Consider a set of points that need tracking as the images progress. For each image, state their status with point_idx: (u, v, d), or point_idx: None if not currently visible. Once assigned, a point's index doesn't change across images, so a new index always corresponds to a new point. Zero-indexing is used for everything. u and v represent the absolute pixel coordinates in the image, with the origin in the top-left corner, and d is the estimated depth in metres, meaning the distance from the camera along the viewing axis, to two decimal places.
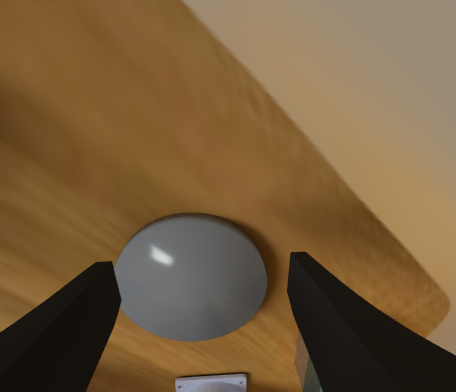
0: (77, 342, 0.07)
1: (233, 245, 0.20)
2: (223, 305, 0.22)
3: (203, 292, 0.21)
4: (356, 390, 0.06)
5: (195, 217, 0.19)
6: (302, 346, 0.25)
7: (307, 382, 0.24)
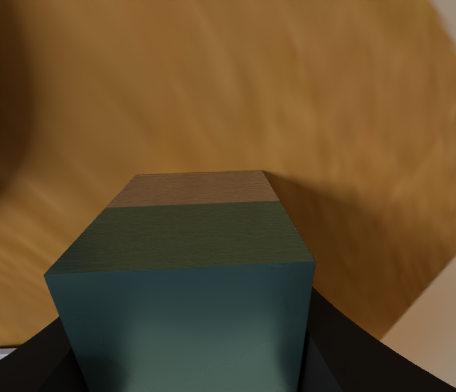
0: None
1: None
2: None
3: None
4: None
5: None
6: None
7: None
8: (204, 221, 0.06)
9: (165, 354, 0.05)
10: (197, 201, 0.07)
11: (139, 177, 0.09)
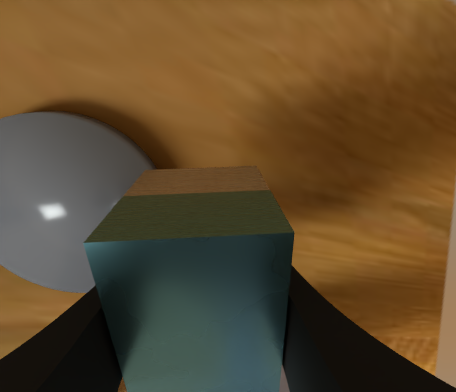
0: (111, 340, 0.07)
1: (44, 131, 0.14)
2: None
3: (81, 213, 0.16)
4: None
5: None
6: None
7: None
8: (206, 205, 0.08)
9: (176, 311, 0.07)
10: (200, 190, 0.09)
11: (148, 172, 0.11)
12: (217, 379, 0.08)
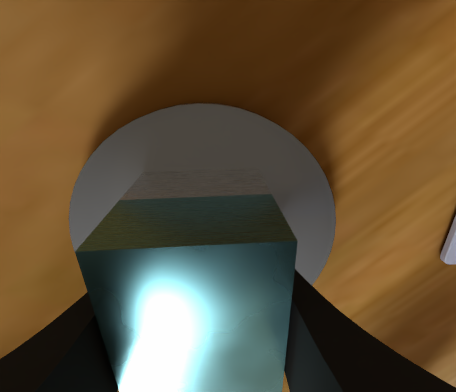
0: None
1: (106, 177, 0.11)
2: None
3: None
4: None
5: None
6: None
7: None
8: (205, 211, 0.07)
9: (173, 322, 0.07)
10: (199, 194, 0.08)
11: (146, 174, 0.10)
12: (216, 390, 0.08)
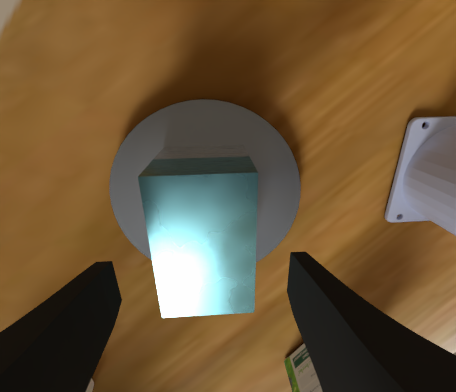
0: (77, 342, 0.07)
1: (137, 151, 0.16)
2: None
3: None
4: (356, 390, 0.06)
5: None
6: None
7: None
8: (207, 163, 0.12)
9: (189, 224, 0.11)
10: (203, 156, 0.13)
11: (166, 148, 0.15)
12: (214, 276, 0.12)
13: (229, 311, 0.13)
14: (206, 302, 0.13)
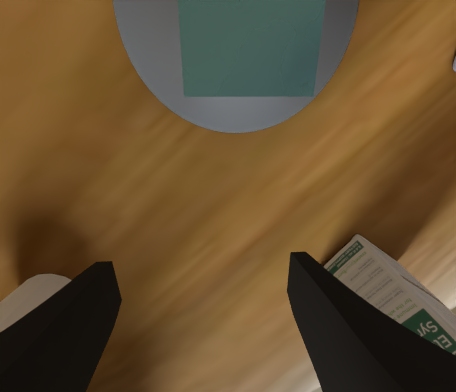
0: (77, 342, 0.07)
1: None
2: None
3: None
4: (356, 390, 0.06)
5: None
6: None
7: None
8: None
9: None
10: None
11: None
12: (264, 14, 0.09)
13: (278, 90, 0.10)
14: (248, 69, 0.09)
